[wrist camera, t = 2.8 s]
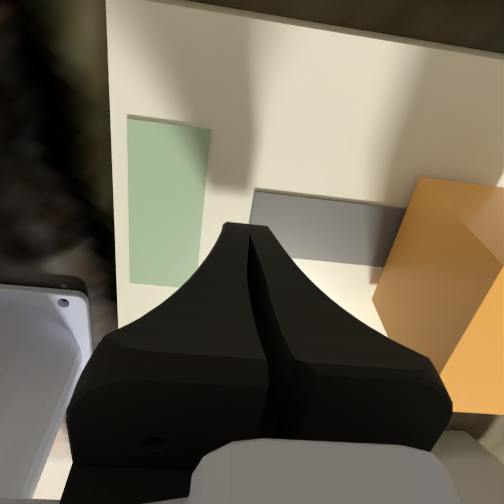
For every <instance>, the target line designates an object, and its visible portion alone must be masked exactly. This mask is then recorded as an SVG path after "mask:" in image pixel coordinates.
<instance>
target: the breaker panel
mask: <svg viewBox="0 0 504 504" xmlns="http://www.w3.org/2000/svg"><path fill="white" fill-rule="evenodd" d="M106 19H107V45H108V70H109V96H110V122H111V148H112V174H113V200H114V225H115V251H116V277H117V303H118V329H119V328H121V327H123V326H125V325H127V324H129V323H131V322H133V321H135V320H137V319H139V318H140V317H142V316H143V315H145V314H146V313H148V312H149V311H151V310H152V309H154V308H155V307H157V306H158V305H160V304H161V303H162V302H164V301H165V300H166V299H167V298H169V297H170V296H171V295H172V294H173V293H174V292H175V291H177V290H178V289H179V288H180V287H181V286H182V285H183V284H184V283H185V282H186V281H187V280H188V279H189V278H190V277H191V276H192V275H193V274H194V272H195V271H196V270H197V269H198V268H199V266H200V265H201V264H202V262H203V261H204V260H205V259H206V257H207V256H208V254H209V253H210V251H211V250H212V248H213V246H214V245H215V243H216V241H217V239H218V237H219V235H220V233H221V230H222V225H223V224H224V223H226V222H235V223H244V224H253V225H263V226H268V227H269V229H270V230H271V231H272V233H273V234H274V236H275V237H276V238H277V240H278V241H279V243H280V244H281V245H282V247H283V248H284V249H285V251H286V252H287V253H288V255H289V256H290V257H291V258H292V260H293V261H294V262H295V263H296V265H297V266H298V267H299V268H300V269H301V270H302V271H303V272H304V274H305V275H306V276H307V277H308V278H309V279H310V280H311V281H312V282H313V283H314V284H315V285H316V286H317V287H318V288H319V289H320V290H322V291H323V292H324V293H325V294H326V295H327V296H328V297H330V298H331V299H332V300H333V301H334V302H336V303H337V304H338V305H339V306H341V307H342V308H343V309H345V310H346V311H347V312H349V313H350V314H352V315H353V316H354V317H356V318H357V319H359V320H360V321H362V322H363V323H365V324H366V325H368V326H369V327H371V328H373V329H374V330H376V331H378V332H380V333H381V334H383V335H385V336H386V337H388V336H387V334H386V332H385V329H384V327H383V325H382V322H381V320H380V318H379V316H378V313H377V311H376V309H375V306H374V304H373V302H372V297H373V294H374V292H375V289H376V287H377V284H378V282H379V279H380V277H381V274H382V271H383V269H384V266H385V264H386V261H387V259H388V256H389V254H390V251H391V249H392V246H393V244H394V241H395V238H396V236H397V233H398V231H399V228H400V226H401V223H402V221H403V218H404V216H405V213H406V211H407V208H408V206H409V203H410V200H411V198H412V195H413V193H414V190H415V188H416V185H417V183H418V180H419V178H420V177H425V178H433V179H441V180H449V181H456V182H464V183H472V184H480V185H488V186H495V187H503V188H504V54H502V53H496V52H490V51H484V50H478V49H472V48H466V47H460V46H454V45H448V44H442V43H436V42H430V41H424V40H419V39H413V38H407V37H401V36H395V35H389V34H383V33H377V32H371V31H365V30H359V29H353V28H347V27H341V26H335V25H329V24H323V23H318V22H312V21H306V20H300V19H294V18H288V17H282V16H276V15H270V14H264V13H258V12H252V11H246V10H240V9H234V8H228V7H222V6H216V5H211V4H205V3H199V2H193V1H187V0H106Z"/></svg>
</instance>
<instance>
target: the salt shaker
mask: <svg viewBox="0 0 504 504" xmlns="http://www.w3.org/2000/svg"><path fill="white" fill-rule="evenodd" d="M430 453H433V454H434V455H435V456H436V457H437V458H438V459H439V460H440V461H441V462H442V463H443V465H444V466H445V467H446V468H447V470H448V472H449V475H450V477H451V479H452V482H453V484H454V486H455V488H456V491H457V493H458V495H459V498H460V500H461V502H462V504H504V465H503V464H502V462H501V461H500V460H499V459H498V458H496V457H495V456H494V455H492V454H491V453H490V452H489V451H488V450H487V449H485V448H484V447H483V446H482V445H481V444H480V443H479V442H477V441H476V440H475V439H474V438H473V437H472V436H471V435H470V434H468V433H467V432H466V431H463V430H444V432H443V433H442V435H441V436H440V438H439V439H438V441H437V442H436V444H435V445H434V447H433V448H432V450H431V451H430Z"/></svg>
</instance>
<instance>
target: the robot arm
mask: <svg viewBox="0 0 504 504" xmlns="http://www.w3.org/2000/svg"><path fill="white" fill-rule="evenodd" d="M62 299H66V300H67V301H69V302H65V301H63V300H62ZM67 406H68V407H67ZM66 409H67V415H66V424H67V430H68V436H69V442H70V449H71V455H72V461H73V463H72V467H71V470H70V473H69V476H68V479H67V482H66V485H65V488H64V491H63V494H62V497H61V500H45V499H32V497H33V495H34V492H35V490H36V487H37V484H38V482H39V479H40V477H41V474H42V471H43V469H44V466H45V464H46V461H47V458H48V456H49V453H50V451H51V448H52V445H53V443H54V440H55V438H56V435H57V432H58V430H59V427H60V425H61V422H62V419H63V417H64V414H65V412H66ZM452 415H453V402H452V400H451V398H450V396H449V394H448V391H447V389H446V387H445V385H444V383H443V381H442V379H441V377H440V375H439V374H438V372H437V370H436V368H435V367H434V365H433V363H432V362H431V360H430V358H428V357H426V356H424V355H422V354H420V353H418V352H416V351H414V350H412V349H410V348H408V347H406V346H404V345H402V344H399V343H397V342H395V341H393V340H392V339H390V338H388V337H386V336H385V335H383V334H381V333H380V332H378V331H376V330H374V329H373V328H371V327H369V326H368V325H366V324H365V323H363V322H362V321H360V320H359V319H357V318H356V317H354V316H353V315H352V314H350V313H349V312H347V311H346V310H345V309H343V308H342V307H341V306H339V305H338V304H337V303H336V302H334V301H333V300H332V299H331V298H330V297H328V296H327V295H326V294H325V293H324V292H323V291H322V290H320V289H319V288H318V287H317V286H316V285H315V284H314V283H313V282H312V281H311V280H310V279H309V278H308V277H307V276H306V275H305V274H304V272H303V271H302V270H301V269H300V268H299V267H298V266H297V265H296V263H295V262H294V261H293V260H292V258H291V257H290V256H289V255H288V253H287V252H286V251H285V249H284V248H283V247H282V245H281V244H280V243H279V241H278V240H277V238H276V237H275V236H274V234H273V233H272V231H271V230H270V229H269V227H268V226H263V225H253V224H244V223H235V222H226V223H224V224H223V225H222V230H221V233H220V235H219V237H218V239H217V241H216V243H215V245H214V246H213V248H212V250H211V251H210V253H209V254H208V256H207V257H206V259H205V260H204V261H203V262H202V264H201V265H200V266H199V268H198V269H197V270H196V271H195V272H194V274H193V275H192V276H191V277H190V278H189V279H188V280H187V281H186V282H185V283H184V284H183V285H182V286H181V287H180V288H179V289H178V290H177V291H175V292H174V293H173V294H172V295H171V296H170V297H169V298H167V299H166V300H165V301H164V302H162V303H161V304H160V305H158V306H157V307H155V308H154V309H152V310H151V311H149V312H148V313H146V314H145V315H143V316H142V317H140V318H139V319H137V320H135V321H133V322H131V323H129V324H127V325H125V326H123V327H121V328H119V329H117V330H115V331H113V332H111V333H108V334H106V335H105V336H104V337H103V339H102V340H101V341H100V343H99V344H98V346H97V347H96V349H95V350H94V352H93V347H92V335H91V324H90V313H89V301H88V297H87V296H86V295H85V294H84V293H82V292H80V291H75V290H63V289H52V288H40V287H28V286H17V285H5V284H0V504H462V502H461V500H460V498H459V495H458V493H457V491H456V488H455V486H454V484H453V482H452V479H451V477H450V475H449V472H448V470H447V468H446V467H445V466H444V465H443V463H442V462H441V461H440V460H439V459H438V458H437V457H436V456H435V455H434V454H433V453H430V451H431V450H432V448H433V447H434V445H435V444H436V442H437V441H438V439H439V438H440V436H441V435H442V433H443V432H444V430H445V429H446V427H447V426H448V423H449V421H450V419H451V417H452Z"/></svg>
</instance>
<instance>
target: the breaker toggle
mask: <svg viewBox="0 0 504 504" xmlns="http://www.w3.org/2000/svg"><path fill="white" fill-rule="evenodd" d="M372 302H373V304H374V306H375V309H376V311H377V313H378V316H379V318H380V320H381V322H382V325H383V327H384V329H385V332H386V334H387V336H388V338H390V339H392V340H393V341H395V342H397V343H399V344H402V345H404V346H406V347H408V348H410V349H412V350H414V351H416V352H418V353H420V354H422V355H424V356H426V357H428V358H430V360H431V362H432V363H433V365H434V367H435V368H436V370H437V372H438V374H439V375H440V377H441V379H442V381H443V383H444V385H445V387H446V389H447V391H448V394H449V396H450V398H451V400H452V402H453V412H467V413H483V414H500V415H504V188H503V187H495V186H488V185H480V184H472V183H464V182H456V181H449V180H441V179H433V178H425V177H420V178H419V180H418V183H417V185H416V188H415V190H414V193H413V195H412V198H411V200H410V203H409V206H408V208H407V211H406V213H405V216H404V218H403V221H402V223H401V226H400V228H399V231H398V233H397V236H396V238H395V241H394V244H393V246H392V249H391V251H390V254H389V256H388V259H387V261H386V264H385V266H384V269H383V271H382V274H381V277H380V279H379V282H378V284H377V287H376V289H375V292H374V294H373V297H372Z"/></svg>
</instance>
